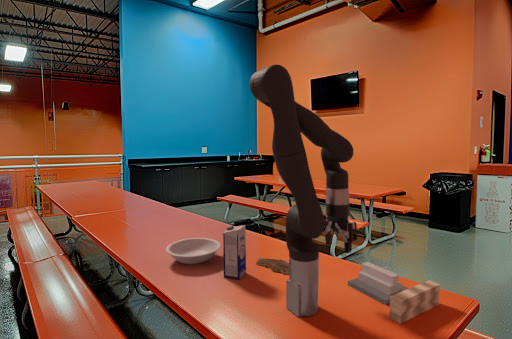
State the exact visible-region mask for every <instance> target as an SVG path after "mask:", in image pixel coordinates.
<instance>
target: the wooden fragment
mask: <svg viewBox="0 0 512 339" xmlns="http://www.w3.org/2000/svg"><path fill="white" fill-rule="evenodd" d="M255 264H256V265H257V266H261V267H265V268H269V269H270V270H271V271H273V272H276V273H280V274H282V275H284V276H289V262H288V261H287V260H282V259H276V258H275V259H273V258H264V257H259V258H258V259H257V260H256V263H255Z"/></svg>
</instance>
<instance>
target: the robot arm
mask: <svg viewBox="0 0 512 339" xmlns="http://www.w3.org/2000/svg"><path fill="white" fill-rule="evenodd" d="M249 91H250V92H251V95H252V96H253V97H254V98H255V99H256V100H258V101H259V102H260V103H262V104H263V105H265V106H266V107H268V108H270V111H271V114H272V120H273V133H272V143H271V149H272V155H273V160H274V162H275V166H276V169H277V170H276V171H277V172H278V174H279V176H280V177H281V179H282V181H283V183H284V184H285V186H286V187H287V188H288V189H289V192H290V193H291V195H292V197H293V199H294V202H295V204H294V205H292V206H291V207H290V208H289V209H288V211H287V213H286V217H285V238H286V240H285V241H286V242H285V243H286V247H287V250H288V263H289V275H288V279H286V289H285V291H286V292H285V293H286V295H285V296H286V299H285V300H286V303H285V304H286V306H285V308H286V309H287V310H289V311H290V312H291V313H292V314H294V315H295V316H296V317H298V318H299V317H310V316H314V315H317V313H318V312H319V280H320V279H319V274H320V269H319V267H320V266H319V265H320V264H319V263H320V260H319V259H320V256H319V255H320V250H319V248H318V246H317V244H316V243H315V242H314V241H313V240H316V239H318V238H320V237H321V235H322V234H324V239H325V240H324V242H325V245H326V246H331V245H332V244H333V234H332V232H336V233H339V235H340V237H342V238H343V241H344V245H343V246H344V248H343V249H344V253H345V254H350V253H351V252H352V251H353V249H352V248H353V247H352V246H353V245H352V244H353V242H356V241H358V233H357V232H358V229H357V228H358V227H357V226H358V225H357V222H356V221H352V222H351V221H349V216H350V214H351V212H350V191H349V190H350V188H349V172H348V170H346V169H344V168H343V167H341V164H340V163H347V162H349V161H351V160H352V158H353V156H354V147H353V144H352V143H351V141H349V140H348V139H347V138H346V137H344V136H343V135H341V134H340V133H338V132H337V131H335V130H334V129H332V128H331V127H330V126H328V124H327V123H326V122H325V121H324V120H323V119H322V118H321V117H320V116H319V115H318V114H316V113H315V112H313V111H312V110H311V109H308V108H307V107H306V106H303V105H301V104H300V103H298V102H297V101H296V100H295V93H294V85H293V81H292V78H291V75H290V73H289V71H288V70H287V68H285V67H284V65H281V64H272V65H269V66H267V67H263V68H261V69H259V70H257V71H256V72H253V74H252V75H251V77H250V78H249ZM302 135H304V136H305V138H306V139H308V140H309V141H310V142H311V143H312V144H313V145H314V146H316V147H318V148H321V150H320V157H321V161H322V165H323V170H324V173H325V177H326V178H325V183H326V186H325V187H326V188H325V214H324V212H323V209H322V207H321V203H320V201H319V199H318V198H319V197H318V196H317V192H316V190H315V186H314V182H313V181H314V180H313V177H312V175H311V174H312V173H311V169H310V165H309V162H308V157H307V156H308V155H307V152H306V147H305V145H304V144H305V143H304V142H303V140H304V139H303V137H302Z"/></svg>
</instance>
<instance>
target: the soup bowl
mask: <svg viewBox="0 0 512 339" xmlns="http://www.w3.org/2000/svg"><path fill="white" fill-rule="evenodd" d="M221 247H222V244H221V243H220V242H219V241H218V240H216V239H213V238H209V237H208V238H207V237H190V238H189V237H188V238H183V239H180V240H176V241H174V242H171V243H170V244H168V245H167V246H166V247H165V252H166V253H167V254H168V255H170V256H171V258H172V259H173V260H175V261H176V262H178V263H181V264H184V265H185V264H186V265H196V264H201V263H204V262H207V261H208V260H210V259H211V258H213V257H214V255H215V254H216V252H218V251H220V249H221Z"/></svg>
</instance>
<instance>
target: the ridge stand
mask: <svg viewBox="0 0 512 339" xmlns="http://www.w3.org/2000/svg"><path fill="white" fill-rule="evenodd" d="M399 276H400V275H399V274H397V273H395V272H392V271H390V270H388V269H386V268H383V267H380V266H378V265H376V264H373V263H371V262H368V261H365V262H362V263H361V271H359V272H358V277H356V278H353V279H350V280H348V281H347V286H348V287H351V288H353V289H355V290H356V291H359V292H360V293H362V294H363V295H366V296H368V297H369V298H372V299H373V300H375V301H376V302H379V303H381V304H382V305H384V306H386V305H388V304H389V305H390V296H392V295H394V294H397V293H399V292H402V291H404V290H406V289H409V288H410V287H406V286H405V285H402V282H401V281H399Z"/></svg>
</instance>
